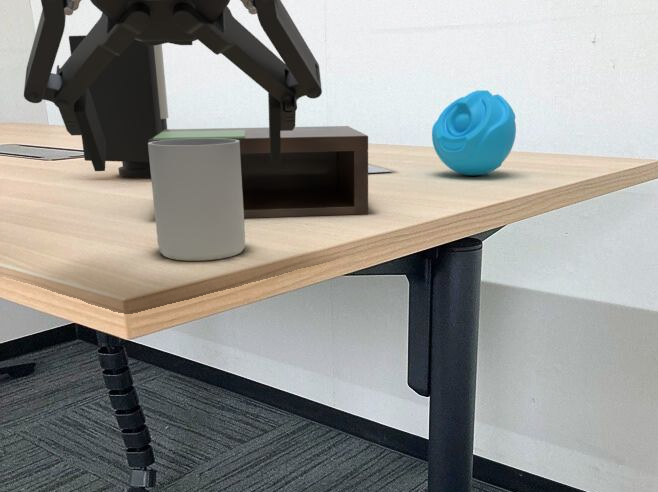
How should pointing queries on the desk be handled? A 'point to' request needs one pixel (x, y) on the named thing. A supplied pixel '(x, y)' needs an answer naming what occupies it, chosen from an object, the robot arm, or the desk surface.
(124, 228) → the desk surface
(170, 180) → the cup
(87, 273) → the desk surface
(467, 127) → the blue rounded piece
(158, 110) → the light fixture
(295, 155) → the shelf
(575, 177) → the desk surface
